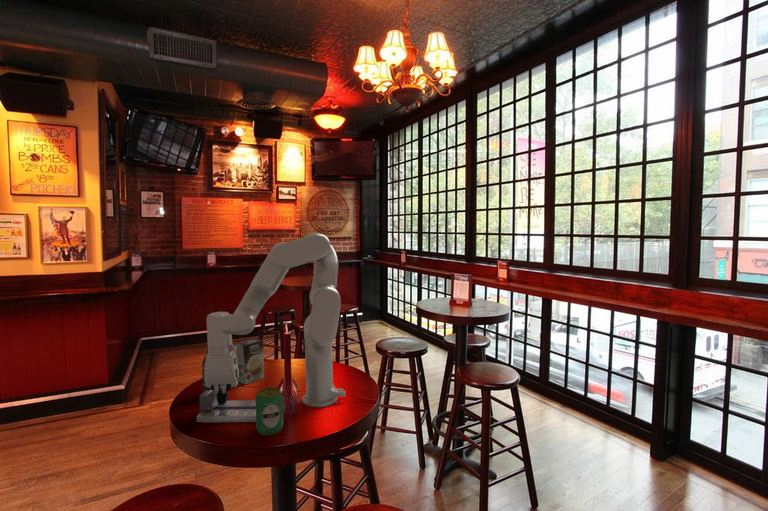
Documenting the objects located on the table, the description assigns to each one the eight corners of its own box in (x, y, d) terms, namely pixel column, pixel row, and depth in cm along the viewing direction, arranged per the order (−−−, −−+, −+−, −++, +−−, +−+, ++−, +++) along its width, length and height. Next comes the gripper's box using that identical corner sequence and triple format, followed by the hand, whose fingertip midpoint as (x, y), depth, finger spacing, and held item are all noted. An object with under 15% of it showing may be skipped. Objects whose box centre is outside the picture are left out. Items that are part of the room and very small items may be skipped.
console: (281, 405, 143) (280, 394, 142) (271, 421, 131) (271, 410, 131) (212, 406, 143) (212, 395, 143) (196, 422, 131) (196, 411, 131)
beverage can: (258, 438, 121) (256, 398, 120) (255, 426, 128) (253, 389, 127) (285, 432, 124) (284, 393, 123) (281, 421, 131) (279, 384, 130)
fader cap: (218, 403, 139) (217, 389, 139) (212, 410, 134) (211, 395, 134) (206, 403, 139) (206, 389, 139) (200, 410, 134) (199, 395, 134)
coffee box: (245, 385, 162) (244, 345, 161) (236, 381, 166) (234, 342, 165) (264, 378, 170) (263, 340, 169) (255, 374, 173) (253, 337, 172)
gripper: (246, 346, 139) (248, 398, 140) (202, 346, 139) (205, 399, 140) (238, 352, 132) (240, 408, 133) (192, 353, 132) (195, 408, 133)
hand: (222, 403), depth 137 cm, fingers closed
